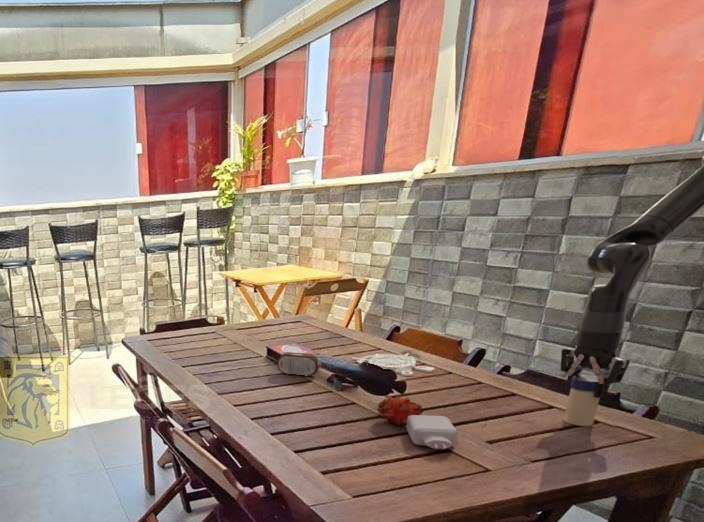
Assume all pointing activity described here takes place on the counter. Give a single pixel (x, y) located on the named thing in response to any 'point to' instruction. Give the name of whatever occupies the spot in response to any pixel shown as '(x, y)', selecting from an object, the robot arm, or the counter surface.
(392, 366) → the pendant
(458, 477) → the counter surface
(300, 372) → the tin
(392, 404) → the dragon fruit
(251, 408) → the counter surface
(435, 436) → the charger
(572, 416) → the jar
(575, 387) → the jar lid
